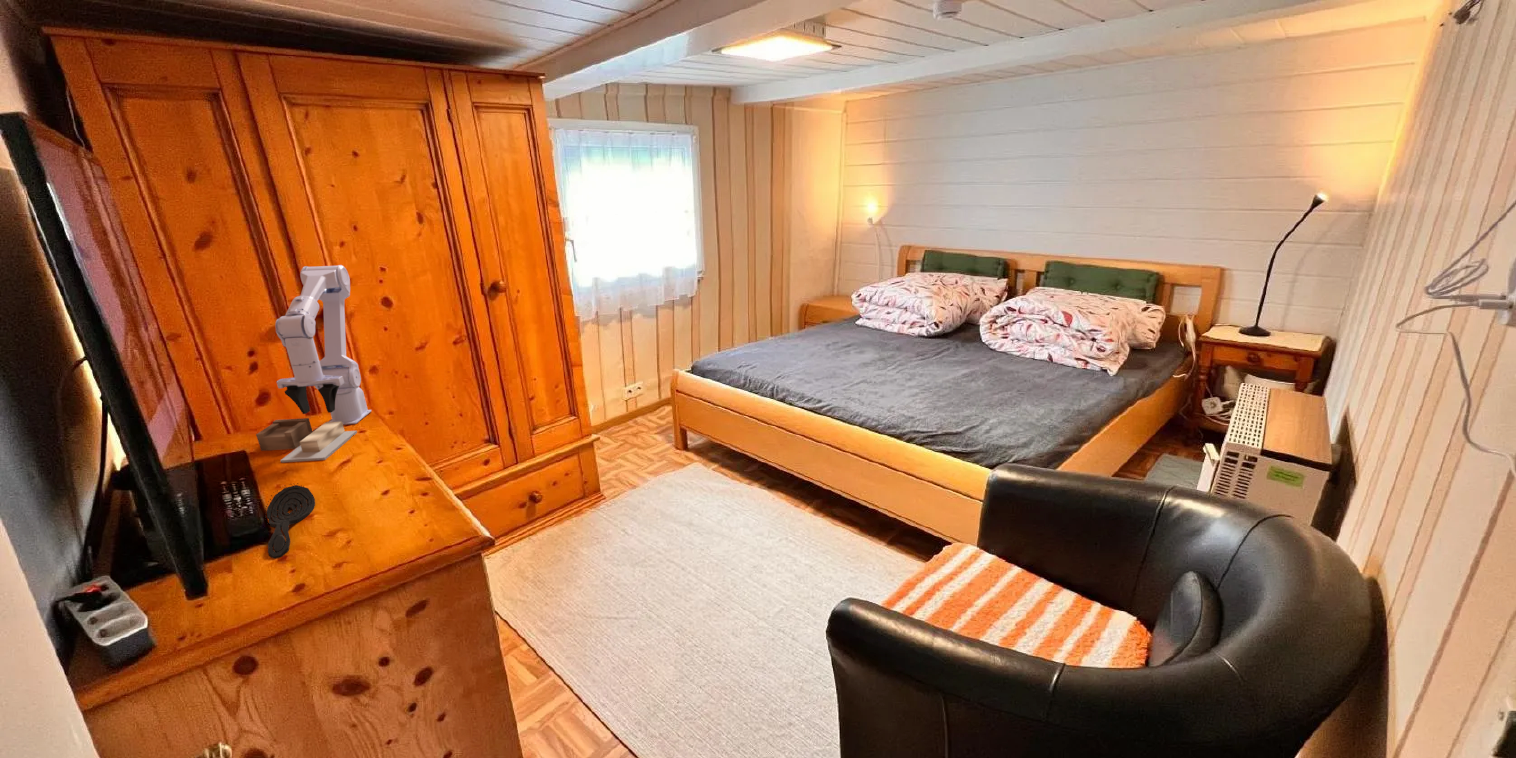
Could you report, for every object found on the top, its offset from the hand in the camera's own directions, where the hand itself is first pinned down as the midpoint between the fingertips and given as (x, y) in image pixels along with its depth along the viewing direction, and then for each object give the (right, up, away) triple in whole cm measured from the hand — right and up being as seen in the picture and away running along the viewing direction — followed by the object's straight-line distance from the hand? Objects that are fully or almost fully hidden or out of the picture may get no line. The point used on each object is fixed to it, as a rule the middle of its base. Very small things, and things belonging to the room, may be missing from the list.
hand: (319, 411), depth 152 cm
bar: (0, -8, +2) cm, 8 cm away
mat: (0, -9, 0) cm, 9 cm away
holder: (-10, -8, +2) cm, 13 cm away
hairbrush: (+18, -22, -33) cm, 44 cm away
